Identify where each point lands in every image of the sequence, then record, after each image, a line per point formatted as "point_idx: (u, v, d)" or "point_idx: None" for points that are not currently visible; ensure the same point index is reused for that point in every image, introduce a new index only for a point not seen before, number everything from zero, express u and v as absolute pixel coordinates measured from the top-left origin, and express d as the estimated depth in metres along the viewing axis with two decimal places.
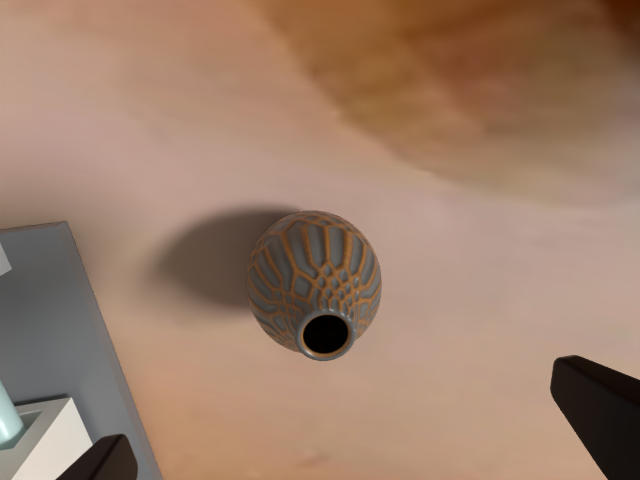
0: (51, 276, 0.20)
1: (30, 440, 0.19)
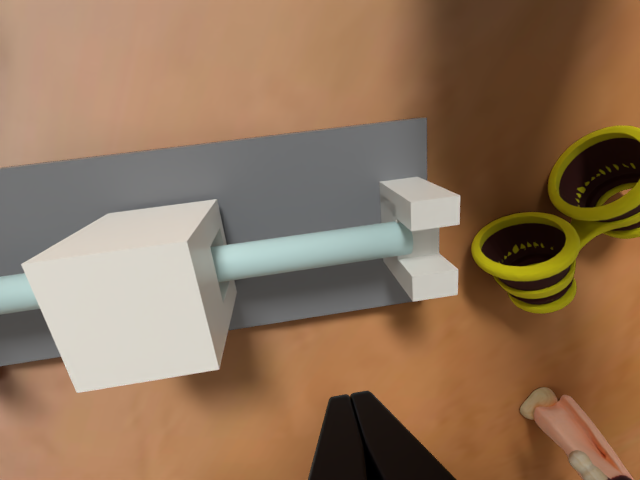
0: None
1: None
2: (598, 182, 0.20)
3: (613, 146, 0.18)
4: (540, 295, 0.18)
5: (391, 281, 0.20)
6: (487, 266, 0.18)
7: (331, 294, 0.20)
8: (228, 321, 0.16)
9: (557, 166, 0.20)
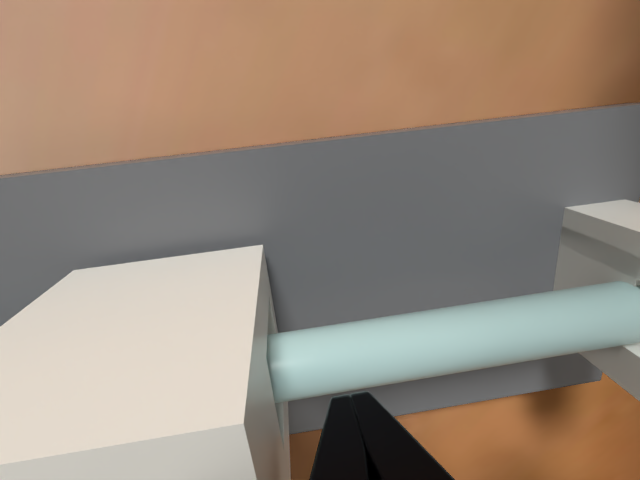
0: None
1: None
2: None
3: None
4: None
5: (553, 357, 0.13)
6: None
7: (463, 377, 0.13)
8: (289, 475, 0.09)
9: None
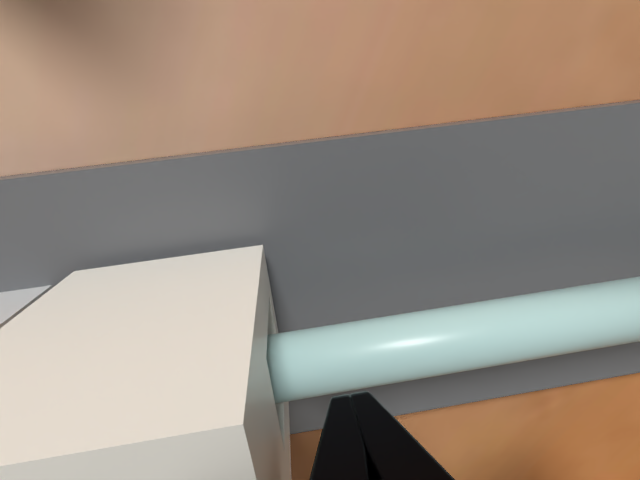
0: (56, 220, 0.09)
1: None
2: None
3: None
4: None
5: None
6: None
7: (624, 349, 0.13)
8: (290, 475, 0.09)
9: None
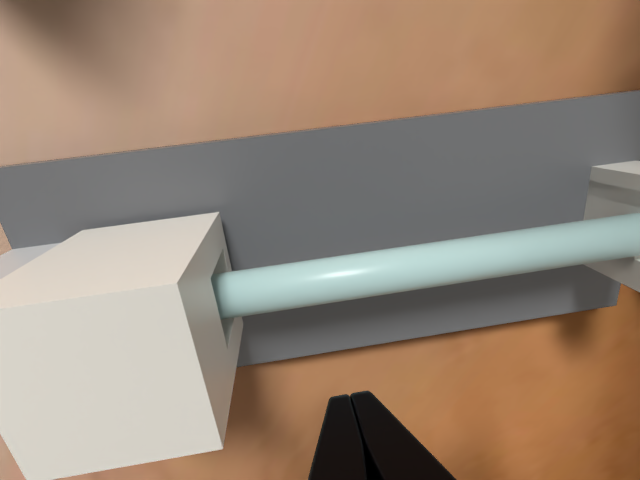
0: (70, 193, 0.13)
1: None
2: None
3: None
4: None
5: (580, 284, 0.17)
6: None
7: (512, 300, 0.17)
8: (234, 369, 0.12)
9: None
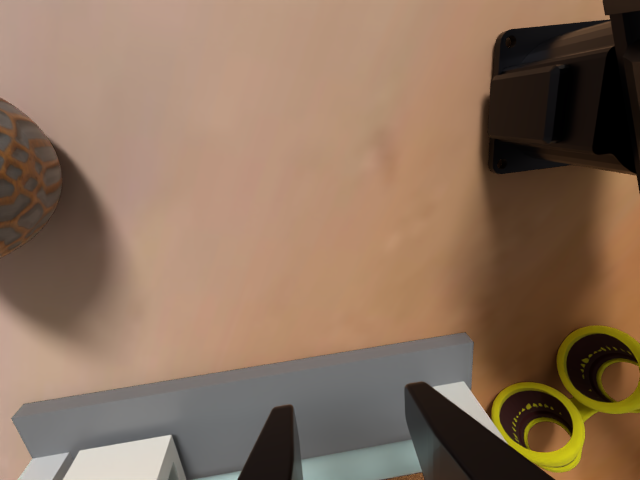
0: (72, 426, 0.20)
1: None
2: (599, 354, 0.24)
3: (612, 338, 0.22)
4: (551, 466, 0.22)
5: None
6: None
7: None
8: None
9: (565, 346, 0.23)
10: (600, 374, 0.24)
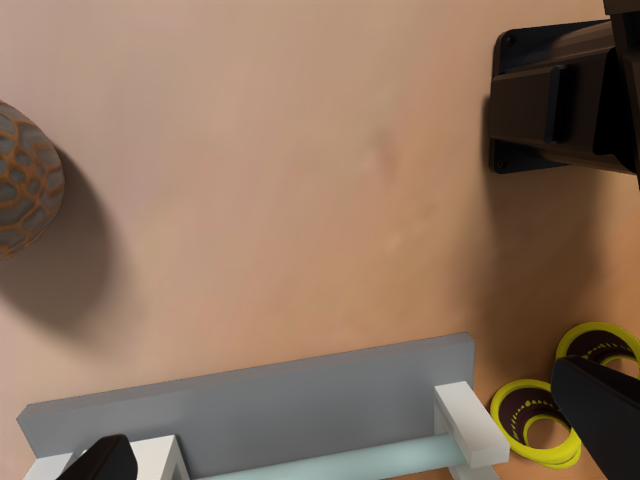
0: (76, 426, 0.20)
1: None
2: (599, 351, 0.23)
3: (612, 335, 0.22)
4: (550, 463, 0.22)
5: None
6: None
7: None
8: None
9: (563, 343, 0.23)
10: None
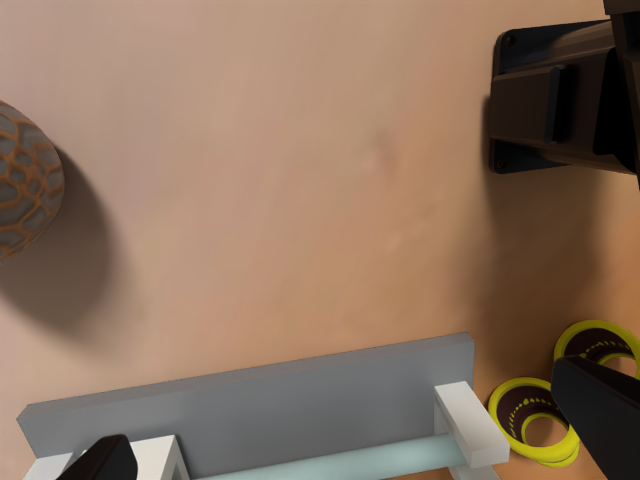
0: (76, 426, 0.20)
1: None
2: (597, 349, 0.23)
3: (610, 333, 0.22)
4: (548, 461, 0.21)
5: None
6: None
7: None
8: None
9: (562, 341, 0.23)
10: None
